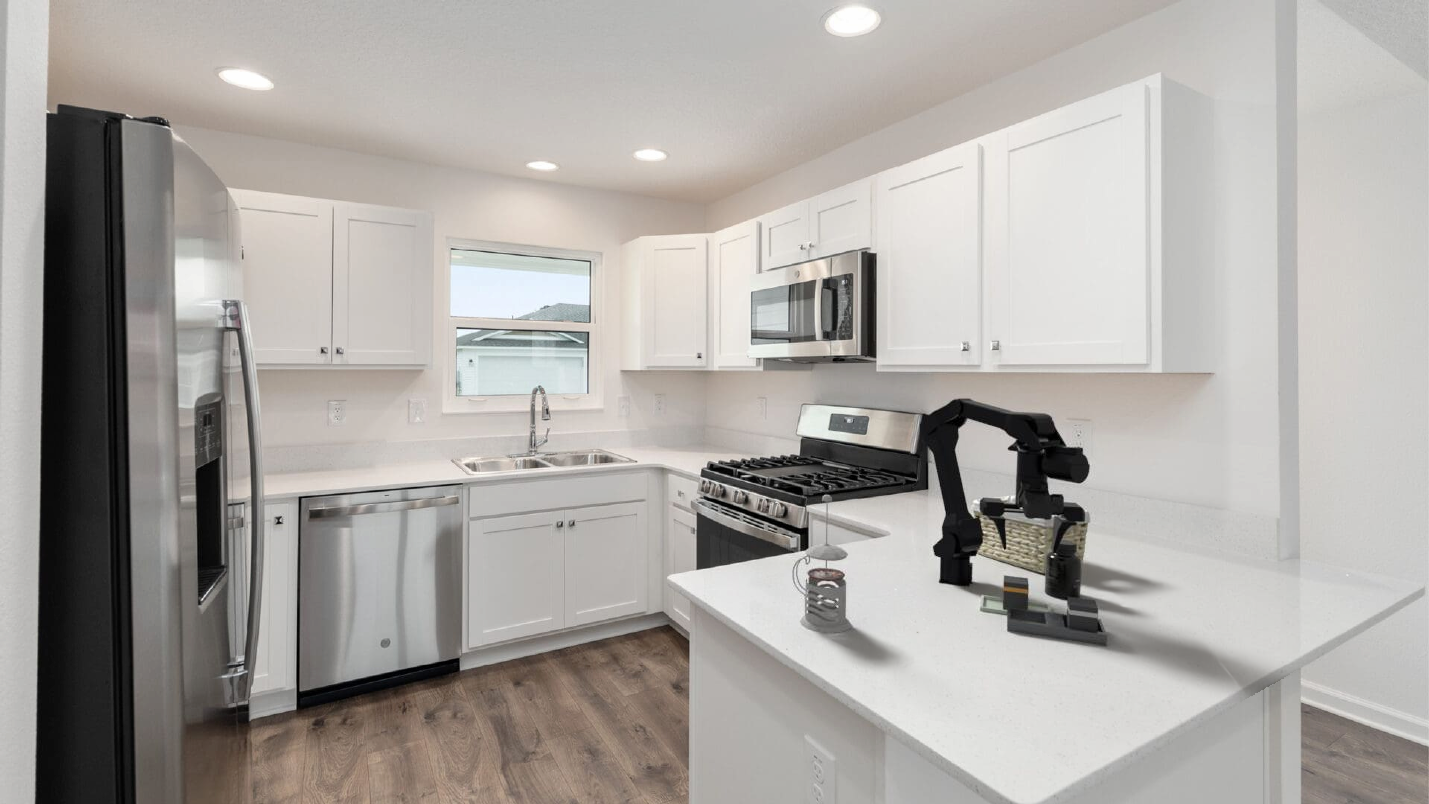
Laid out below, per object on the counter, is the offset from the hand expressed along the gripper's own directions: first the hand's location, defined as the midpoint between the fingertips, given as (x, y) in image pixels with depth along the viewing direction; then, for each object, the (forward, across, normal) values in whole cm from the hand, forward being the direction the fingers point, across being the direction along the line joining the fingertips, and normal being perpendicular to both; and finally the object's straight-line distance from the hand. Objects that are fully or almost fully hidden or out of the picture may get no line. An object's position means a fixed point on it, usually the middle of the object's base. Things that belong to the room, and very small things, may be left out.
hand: (1028, 551), depth 133 cm
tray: (+12, -2, -2) cm, 13 cm away
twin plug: (+12, +7, -12) cm, 18 cm away
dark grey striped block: (+12, -2, -2) cm, 12 cm away
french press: (+12, -40, -18) cm, 46 cm away
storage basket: (+13, +8, +38) cm, 41 cm away
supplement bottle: (+12, +9, +10) cm, 19 cm away
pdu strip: (+12, +2, -12) cm, 17 cm away
